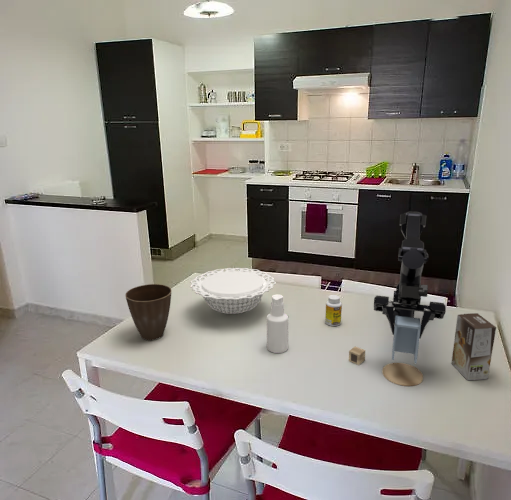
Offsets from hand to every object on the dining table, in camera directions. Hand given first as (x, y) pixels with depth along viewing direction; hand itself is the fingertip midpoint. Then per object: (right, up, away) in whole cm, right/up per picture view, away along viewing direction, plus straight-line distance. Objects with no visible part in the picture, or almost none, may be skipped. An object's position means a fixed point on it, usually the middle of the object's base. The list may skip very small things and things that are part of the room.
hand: (406, 336), depth 115 cm
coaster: (+1, -12, +5) cm, 13 cm away
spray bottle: (-34, -8, +20) cm, 40 cm away
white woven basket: (-50, -1, +45) cm, 67 cm away
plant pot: (-77, -6, +30) cm, 82 cm away
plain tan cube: (-11, -10, +12) cm, 19 cm away
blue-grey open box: (+1, -6, +3) cm, 7 cm away
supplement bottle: (-13, -3, +36) cm, 38 cm away
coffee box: (+20, -11, +6) cm, 24 cm away
